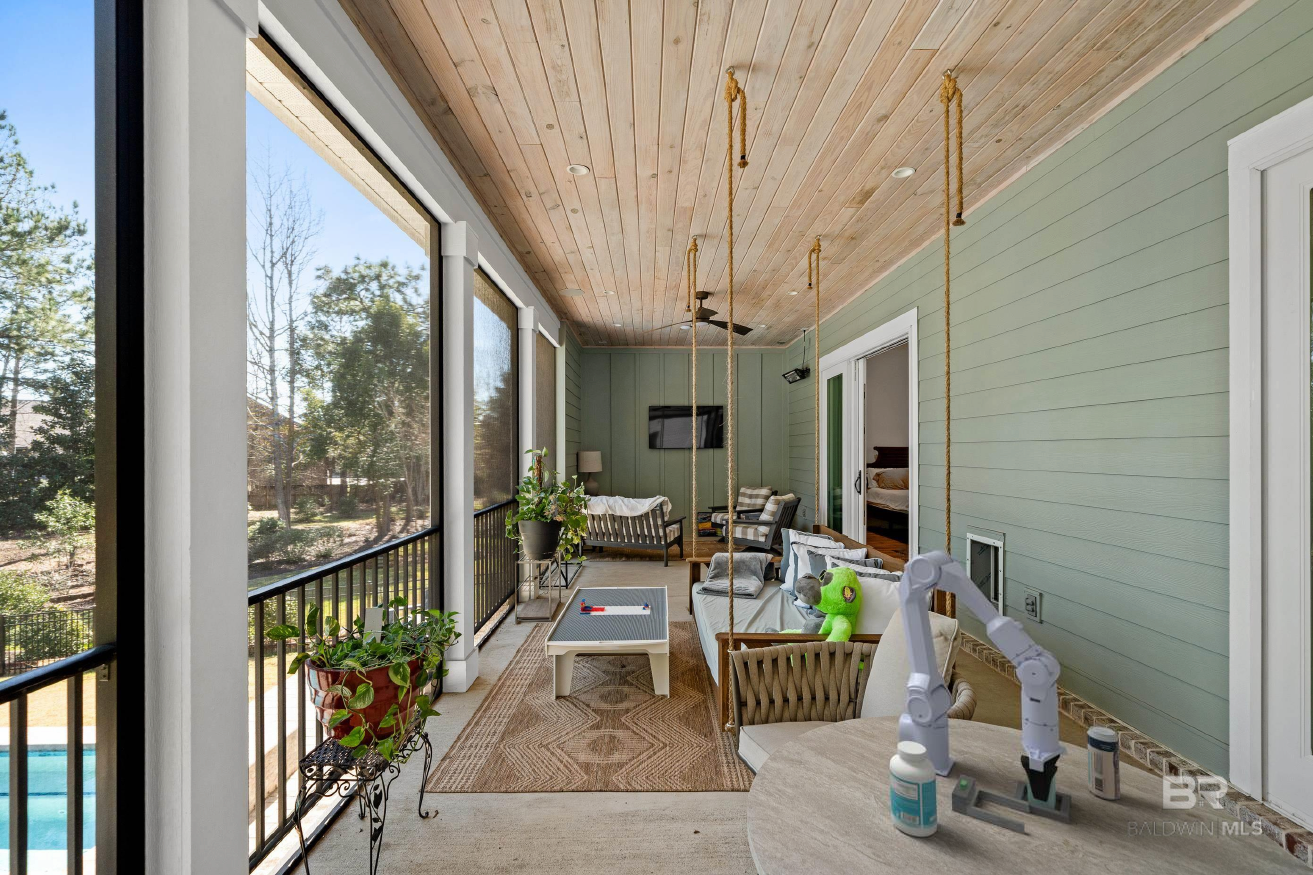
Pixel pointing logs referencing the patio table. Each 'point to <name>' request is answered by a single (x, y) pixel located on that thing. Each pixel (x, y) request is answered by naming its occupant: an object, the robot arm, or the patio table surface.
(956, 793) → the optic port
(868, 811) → the patio table surface
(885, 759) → the patio table surface
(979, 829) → the patio table surface
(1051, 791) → the plug
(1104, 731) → the supplement canister
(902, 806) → the pill bottle
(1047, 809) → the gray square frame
